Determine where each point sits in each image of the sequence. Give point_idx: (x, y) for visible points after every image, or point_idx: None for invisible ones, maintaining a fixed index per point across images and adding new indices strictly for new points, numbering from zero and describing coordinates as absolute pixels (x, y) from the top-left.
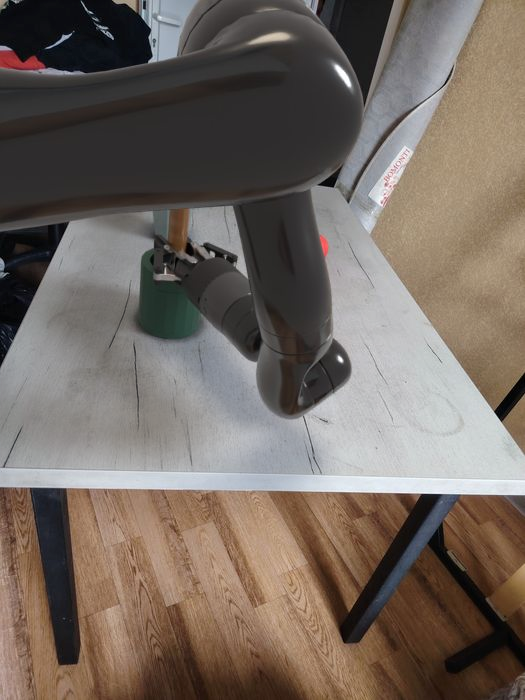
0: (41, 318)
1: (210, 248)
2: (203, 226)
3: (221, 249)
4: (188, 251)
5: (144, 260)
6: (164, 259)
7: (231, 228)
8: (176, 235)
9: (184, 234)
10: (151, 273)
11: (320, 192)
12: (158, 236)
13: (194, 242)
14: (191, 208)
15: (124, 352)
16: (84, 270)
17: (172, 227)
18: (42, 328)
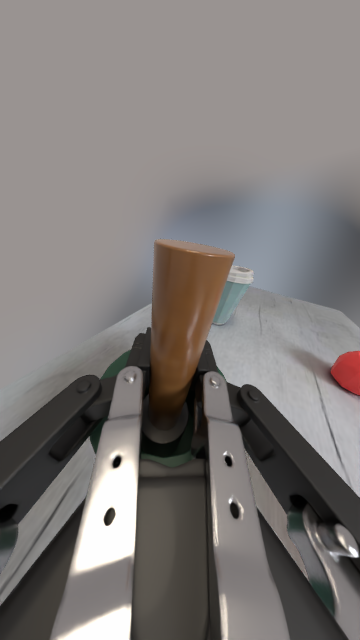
0: (41, 374)
1: (262, 424)
2: (242, 316)
3: (309, 451)
4: (196, 387)
5: (116, 366)
6: (105, 411)
7: (263, 322)
8: (160, 353)
9: (186, 357)
10: None
11: (330, 311)
12: (146, 332)
13: (215, 378)
14: (236, 302)
15: (32, 513)
16: (135, 330)
17: (153, 327)
18: (21, 391)
